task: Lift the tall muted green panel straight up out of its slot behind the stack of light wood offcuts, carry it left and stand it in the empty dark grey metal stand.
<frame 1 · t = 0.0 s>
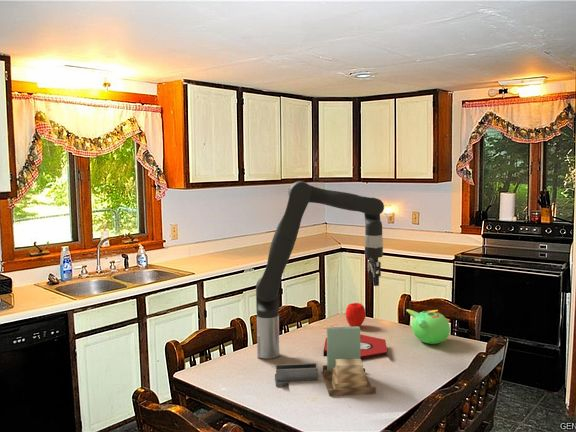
hand: (373, 283, 224), 29 cm above the table, tool pointing down, fingers open, 8 cm apart
panel: (343, 375, 197), point 1 cm above the table, touching rack
stand: (296, 381, 196), on the table
toy bird: (429, 342, 236), on the table
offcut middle: (349, 378, 186), point 4 cm above the table, touching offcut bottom, offcut top
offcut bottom: (349, 386, 187), point 1 cm above the table, touching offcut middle, rack
offcut top: (348, 370, 186), point 7 cm above the table, touching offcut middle
apple: (355, 327, 260), on the table
plaque: (355, 353, 226), on the table
rack: (346, 386, 191), on the table
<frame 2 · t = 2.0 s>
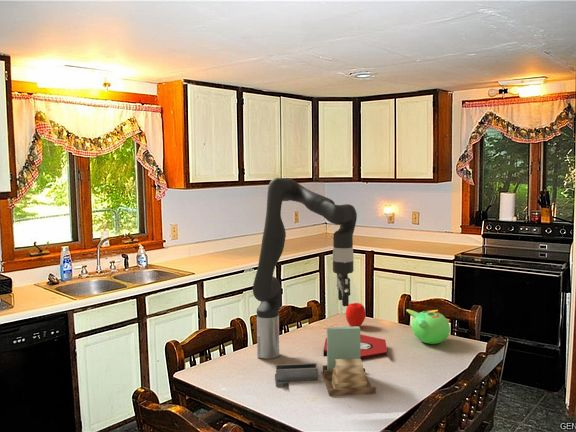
hand: (343, 302, 194), 29 cm above the table, tool pointing down, fingers open, 8 cm apart
nothing on the table moved.
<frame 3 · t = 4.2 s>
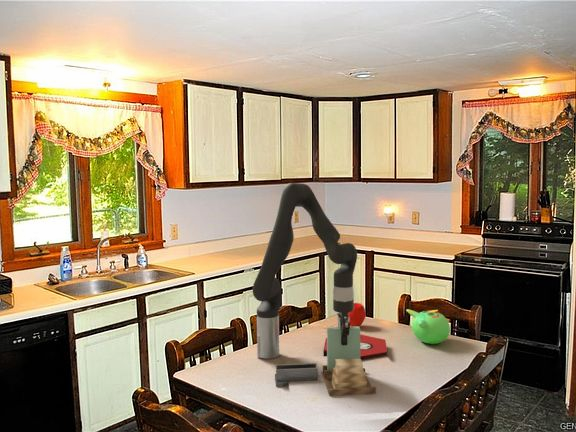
hand: (343, 343, 196), 14 cm above the table, tool pointing down, fingers closed on panel, 2 cm apart
panel: (343, 375, 197), point 1 cm above the table, touching gripper, rack
everything else where it was.
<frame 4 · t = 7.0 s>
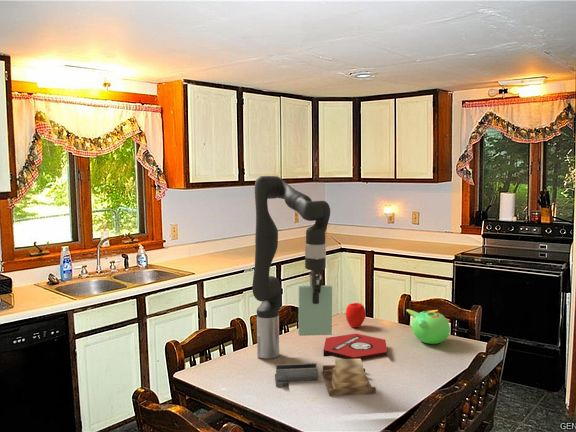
hand: (315, 302, 194), 29 cm above the table, tool pointing down, fingers closed on panel, 2 cm apart
panel: (315, 334, 195), point 17 cm above the table, touching gripper
everything else where it was.
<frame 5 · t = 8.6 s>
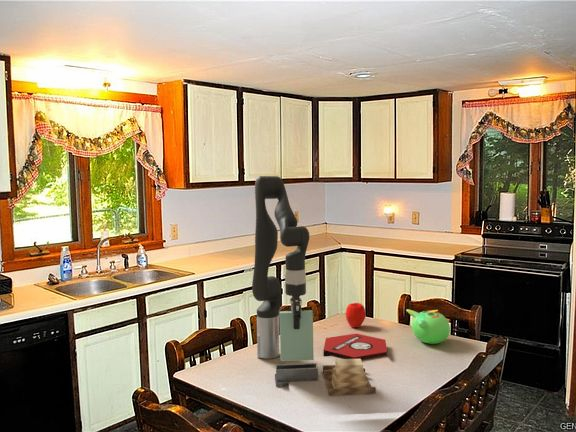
hand: (296, 327, 194), 20 cm above the table, tool pointing down, fingers closed on panel, 2 cm apart
panel: (297, 359, 195), point 8 cm above the table, touching gripper
everything else where it was.
when the fingers open (15 cm above the table, at t = 10.0 s): panel stays where it is, resting on stand.
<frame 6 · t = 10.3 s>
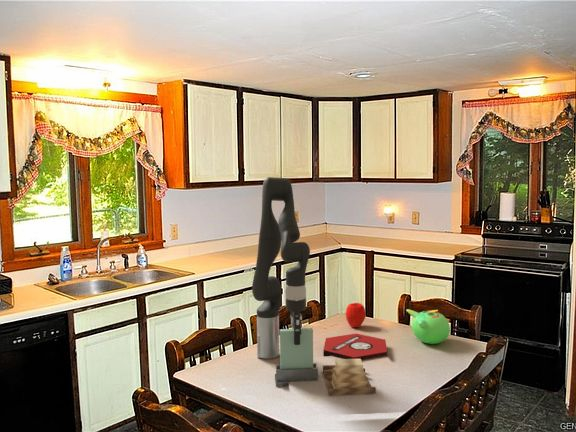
hand: (296, 341, 194), 15 cm above the table, tool pointing down, fingers open, 5 cm apart
panel: (296, 376, 196), point 2 cm above the table, touching stand
everything else where it was.
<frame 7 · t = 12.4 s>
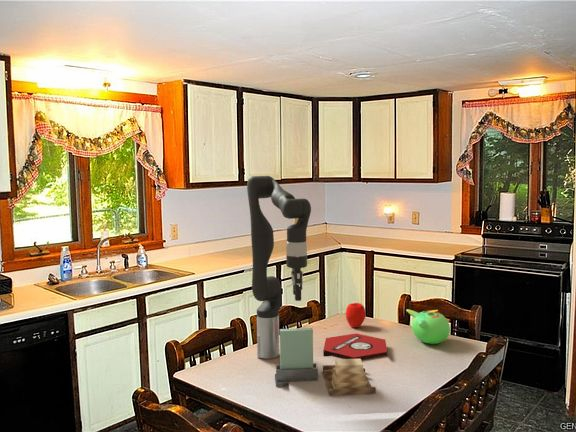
hand: (297, 297, 194), 31 cm above the table, tool pointing down, fingers open, 8 cm apart
nothing on the table moved.
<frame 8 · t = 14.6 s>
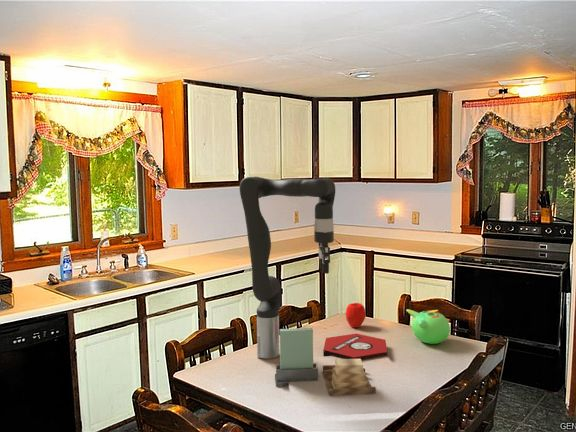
hand: (324, 271, 207), 38 cm above the table, tool pointing down, fingers open, 8 cm apart
nothing on the table moved.
at the end: panel 0.1 cm off-centre on the stand, point 1.5 cm above the stand's base; panel tilted 0°; offcut top moved 0.0 cm from its start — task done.
